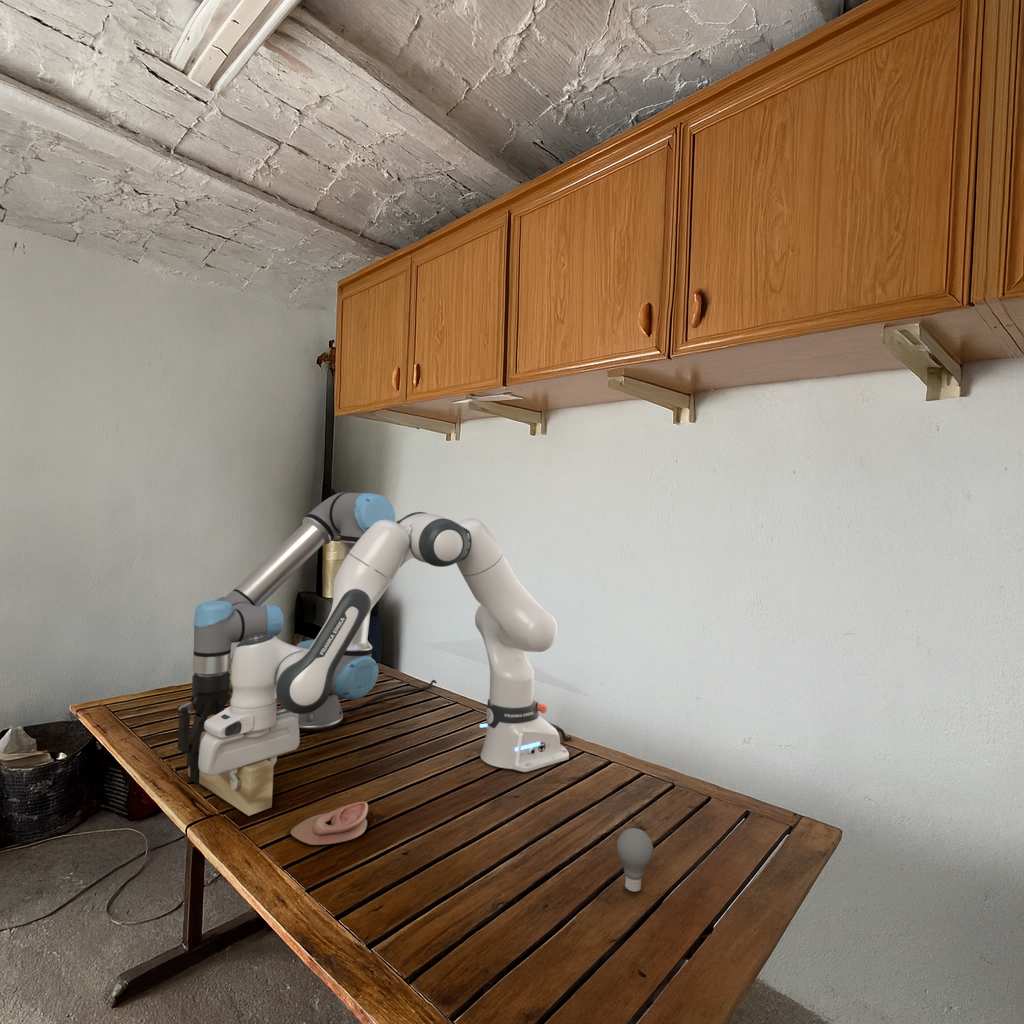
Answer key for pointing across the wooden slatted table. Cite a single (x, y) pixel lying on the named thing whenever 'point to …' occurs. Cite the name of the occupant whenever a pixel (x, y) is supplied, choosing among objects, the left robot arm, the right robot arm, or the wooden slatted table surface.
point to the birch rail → (243, 786)
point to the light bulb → (634, 856)
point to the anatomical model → (333, 825)
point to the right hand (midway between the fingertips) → (250, 783)
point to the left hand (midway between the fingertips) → (207, 776)
